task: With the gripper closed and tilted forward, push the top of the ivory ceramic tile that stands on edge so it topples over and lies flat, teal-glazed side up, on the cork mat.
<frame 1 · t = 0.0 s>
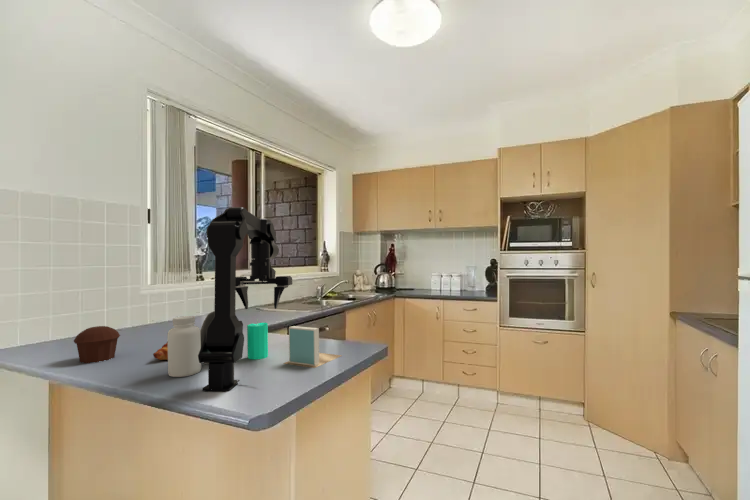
hand: (261, 308, 118), 15 cm above the counter, tool pointing down, fingers open, 9 cm apart
candle: (257, 359, 115), on the counter
pump dispenser: (216, 363, 111), on the counter
pill bottle: (184, 373, 101), on the counter
tile: (304, 363, 107), point 1 cm above the counter, touching mat
muffin: (97, 359, 118), on the counter
mat: (313, 361, 111), on the counter
croissant: (184, 355, 122), on the counter
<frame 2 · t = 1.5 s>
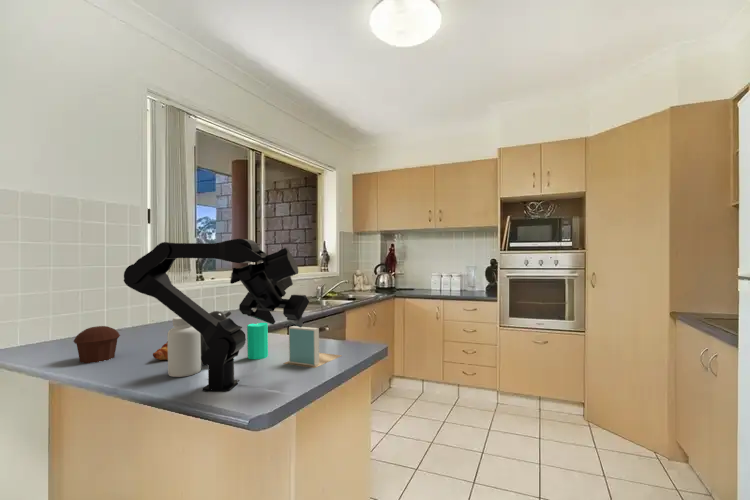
hand: (287, 324, 101), 13 cm above the counter, tool tilted 45°, fingers open, 9 cm apart
nothing on the counter moved.
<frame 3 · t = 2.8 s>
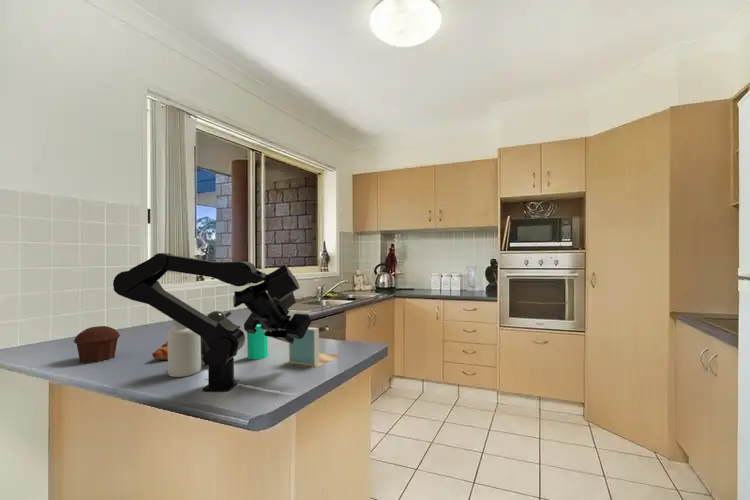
hand: (292, 341, 102), 8 cm above the counter, tool tilted 45°, fingers closed
nothing on the counter moved.
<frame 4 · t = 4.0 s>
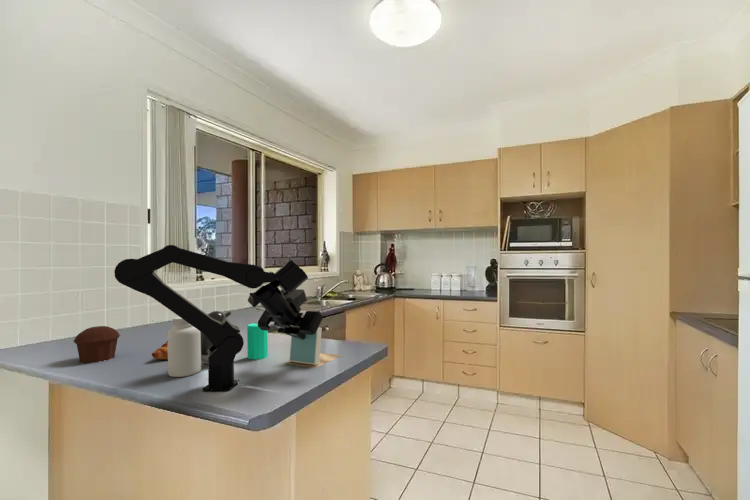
hand: (303, 338, 106), 8 cm above the counter, tool tilted 45°, fingers closed
tile: (304, 362, 107), point 1 cm above the counter, tilted 8°, touching mat
everything else where it was.
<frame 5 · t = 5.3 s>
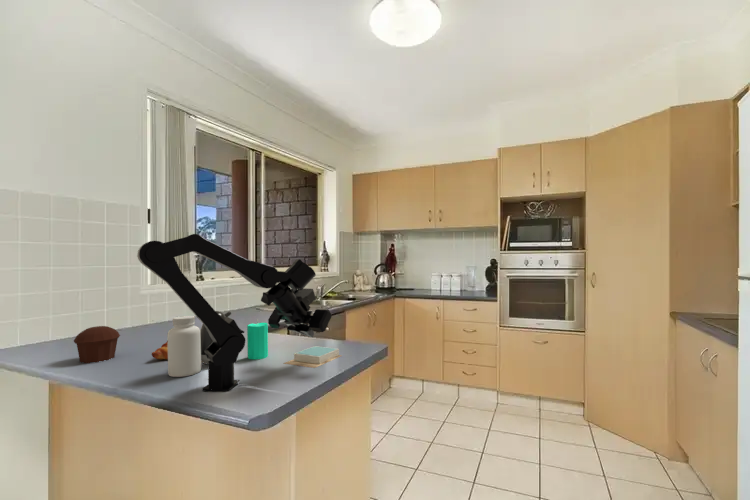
hand: (312, 335, 110), 8 cm above the counter, tool tilted 45°, fingers closed
tile: (306, 358, 108), point 2 cm above the counter, tilted 90°, touching mat
everything else where it was.
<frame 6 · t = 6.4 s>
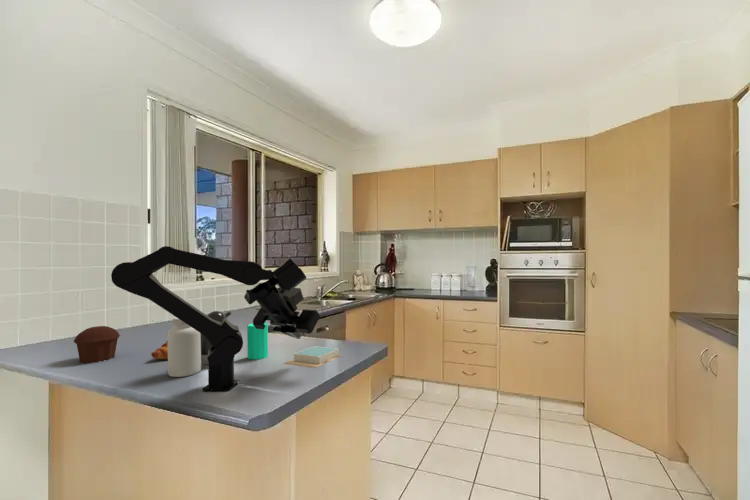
hand: (299, 337, 106), 8 cm above the counter, tool tilted 45°, fingers closed
nothing on the counter moved.
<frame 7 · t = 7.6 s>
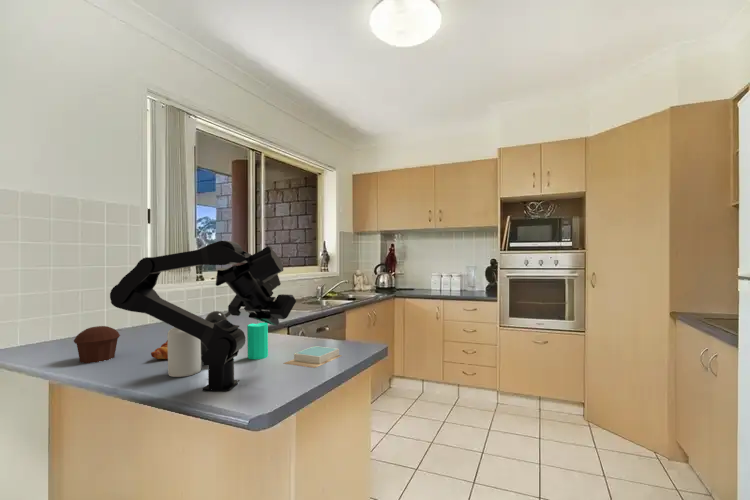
hand: (277, 324, 102), 13 cm above the counter, tool tilted 45°, fingers closed
nothing on the counter moved.
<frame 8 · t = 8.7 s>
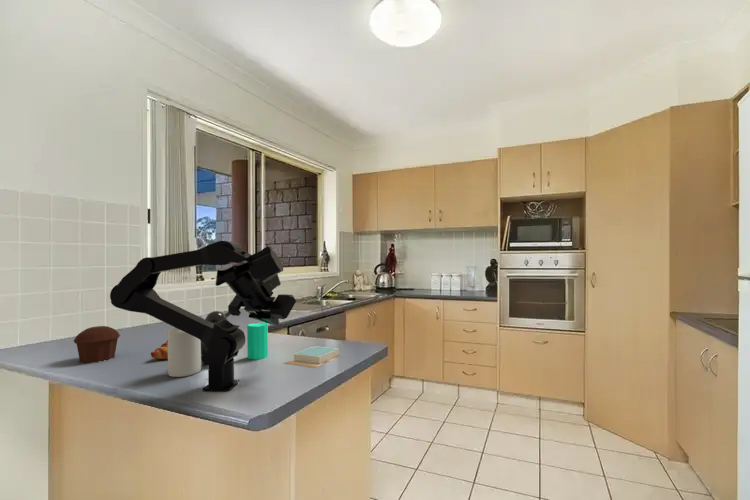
hand: (277, 324, 102), 13 cm above the counter, tool tilted 45°, fingers closed
nothing on the counter moved.
at the end: tile tilted 90°; tile inside the target area on the mat (3.9 cm from its centre), point 1.6 cm above the mat's base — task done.
